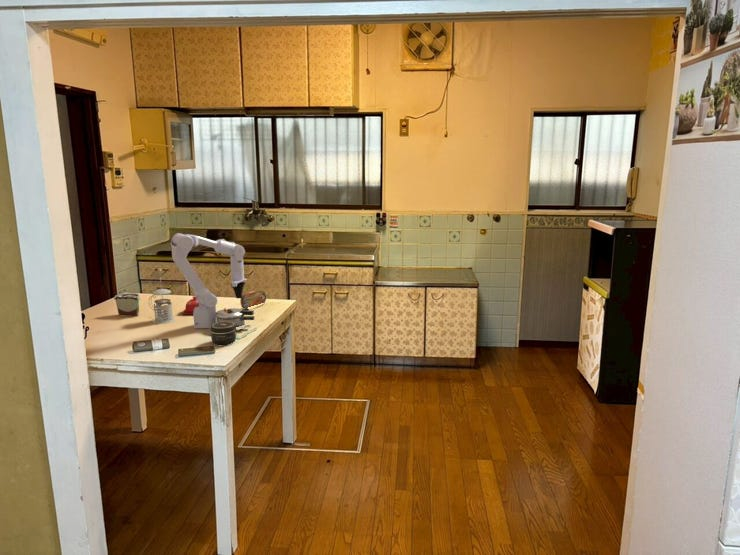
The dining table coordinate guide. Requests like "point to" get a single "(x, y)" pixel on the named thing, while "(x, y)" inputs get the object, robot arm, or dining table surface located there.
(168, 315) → the french press
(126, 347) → the dining table surface
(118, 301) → the food container
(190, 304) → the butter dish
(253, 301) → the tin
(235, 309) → the cooker lid
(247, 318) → the cooker pot
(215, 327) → the jar
